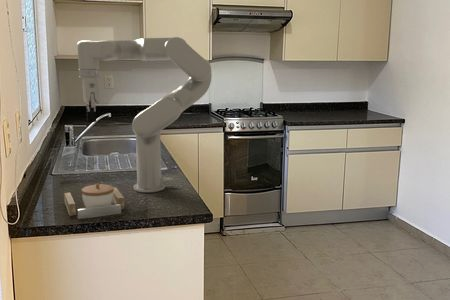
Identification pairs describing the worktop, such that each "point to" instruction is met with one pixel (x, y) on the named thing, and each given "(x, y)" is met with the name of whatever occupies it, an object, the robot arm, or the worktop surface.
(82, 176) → the worktop surface
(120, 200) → the bar
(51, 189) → the worktop surface
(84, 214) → the rail
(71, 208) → the rail far
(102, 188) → the lidded jar
